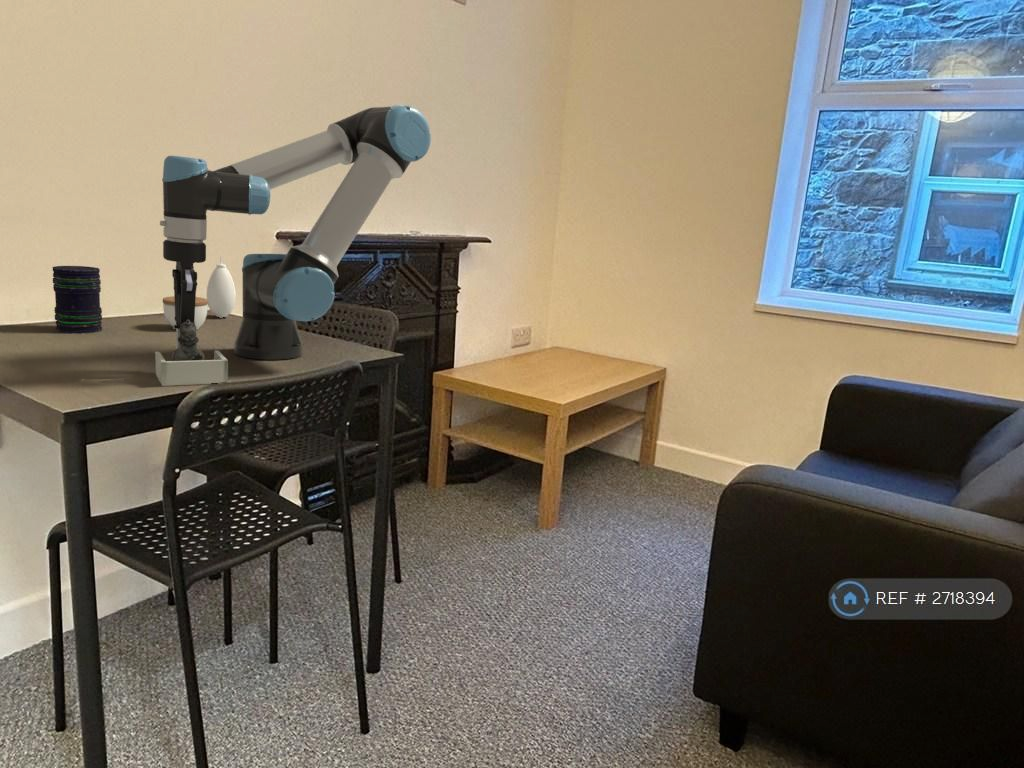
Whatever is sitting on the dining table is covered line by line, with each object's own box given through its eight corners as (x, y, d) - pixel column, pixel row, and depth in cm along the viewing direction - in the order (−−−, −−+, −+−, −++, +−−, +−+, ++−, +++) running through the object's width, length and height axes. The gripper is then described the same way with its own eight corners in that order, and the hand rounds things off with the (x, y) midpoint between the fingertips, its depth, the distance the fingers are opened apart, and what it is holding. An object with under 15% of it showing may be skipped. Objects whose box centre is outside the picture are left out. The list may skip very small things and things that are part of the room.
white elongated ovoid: (204, 319, 204) (204, 254, 200) (208, 314, 212) (208, 252, 207) (234, 320, 206) (234, 257, 202) (237, 316, 214) (237, 254, 210)
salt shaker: (171, 361, 144) (170, 310, 137) (203, 361, 146) (204, 311, 140) (172, 379, 140) (171, 327, 133) (205, 379, 142) (205, 328, 135)
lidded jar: (164, 324, 191) (163, 289, 189) (207, 325, 196) (207, 290, 193) (162, 331, 182) (161, 294, 180) (208, 332, 186) (208, 296, 184)
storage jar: (52, 333, 169) (48, 269, 165) (58, 325, 177) (55, 264, 174) (100, 334, 173) (98, 271, 169) (104, 326, 181) (102, 267, 178)
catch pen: (218, 371, 148) (218, 350, 147) (227, 383, 140) (228, 360, 139) (155, 374, 142) (155, 351, 141) (162, 386, 134) (161, 362, 133)
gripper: (159, 235, 142) (159, 352, 147) (167, 242, 131) (167, 367, 137) (200, 238, 146) (199, 352, 151) (211, 245, 135) (210, 367, 141)
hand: (184, 359), depth 144 cm, fingers closed
